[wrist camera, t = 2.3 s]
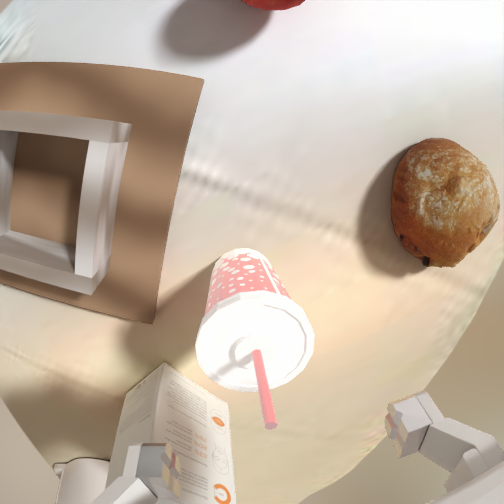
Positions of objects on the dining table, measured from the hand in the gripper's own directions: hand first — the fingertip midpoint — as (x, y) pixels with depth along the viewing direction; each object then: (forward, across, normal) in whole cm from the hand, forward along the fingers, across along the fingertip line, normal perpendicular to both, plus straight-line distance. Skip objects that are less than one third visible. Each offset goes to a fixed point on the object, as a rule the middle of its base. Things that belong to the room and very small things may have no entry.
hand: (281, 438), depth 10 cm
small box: (+15, +9, +12) cm, 21 cm away
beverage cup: (+15, +1, 0) cm, 15 cm away
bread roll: (+16, -16, -3) cm, 23 cm away
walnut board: (+15, +13, -9) cm, 22 cm away
